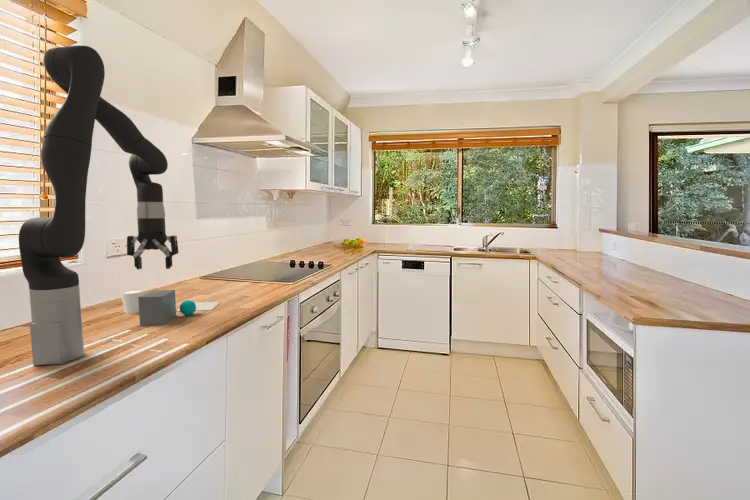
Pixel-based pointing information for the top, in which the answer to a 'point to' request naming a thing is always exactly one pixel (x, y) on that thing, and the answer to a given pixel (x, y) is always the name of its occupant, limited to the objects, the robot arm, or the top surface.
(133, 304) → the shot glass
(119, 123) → the robot arm
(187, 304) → the ball
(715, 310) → the top surface
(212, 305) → the white square plate
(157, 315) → the grey rectangular block
